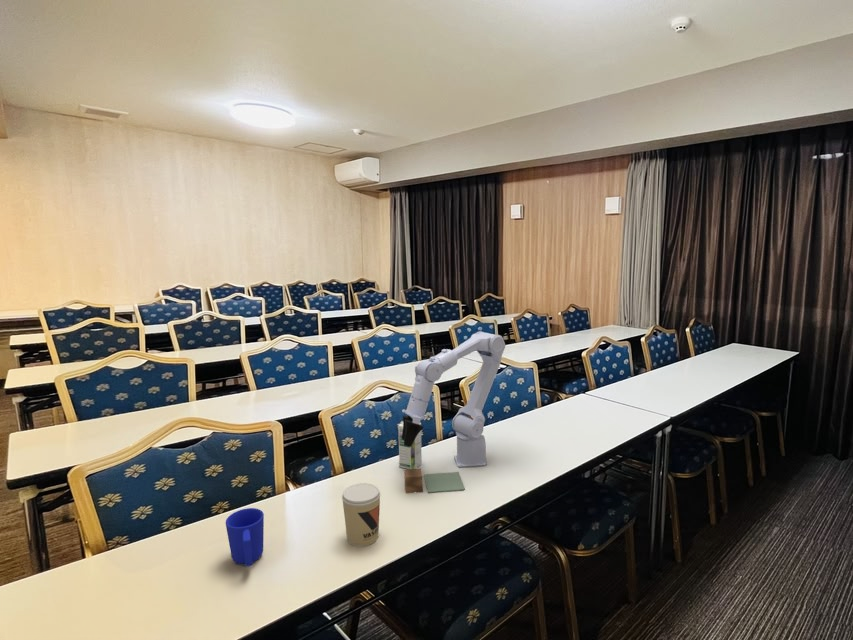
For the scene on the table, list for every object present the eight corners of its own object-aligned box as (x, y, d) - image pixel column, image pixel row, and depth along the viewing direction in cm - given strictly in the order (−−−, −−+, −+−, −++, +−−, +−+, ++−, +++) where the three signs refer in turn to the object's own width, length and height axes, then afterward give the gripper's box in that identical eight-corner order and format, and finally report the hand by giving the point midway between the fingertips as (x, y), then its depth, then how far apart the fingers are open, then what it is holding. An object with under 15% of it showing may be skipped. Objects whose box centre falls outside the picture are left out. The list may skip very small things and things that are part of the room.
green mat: (458, 472, 148) (458, 471, 148) (465, 490, 137) (465, 489, 137) (424, 475, 146) (424, 474, 146) (428, 493, 136) (428, 491, 136)
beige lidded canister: (365, 553, 109) (363, 505, 107) (335, 540, 114) (333, 495, 112) (389, 532, 117) (387, 488, 115) (360, 522, 122) (358, 479, 120)
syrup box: (398, 467, 152) (397, 425, 150) (407, 460, 157) (406, 419, 155) (413, 471, 150) (412, 428, 147) (422, 463, 155) (421, 421, 153)
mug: (229, 584, 100) (225, 541, 98) (228, 551, 111) (225, 512, 109) (269, 573, 103) (266, 531, 101) (265, 542, 114) (262, 504, 112)
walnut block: (421, 483, 141) (420, 468, 141) (422, 492, 136) (422, 476, 136) (404, 485, 141) (404, 469, 140) (405, 493, 136) (405, 477, 135)
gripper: (404, 392, 148) (392, 434, 147) (409, 398, 133) (395, 444, 132) (425, 399, 149) (413, 440, 147) (432, 405, 134) (418, 451, 133)
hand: (406, 442), depth 140 cm, fingers open, 7 cm apart
